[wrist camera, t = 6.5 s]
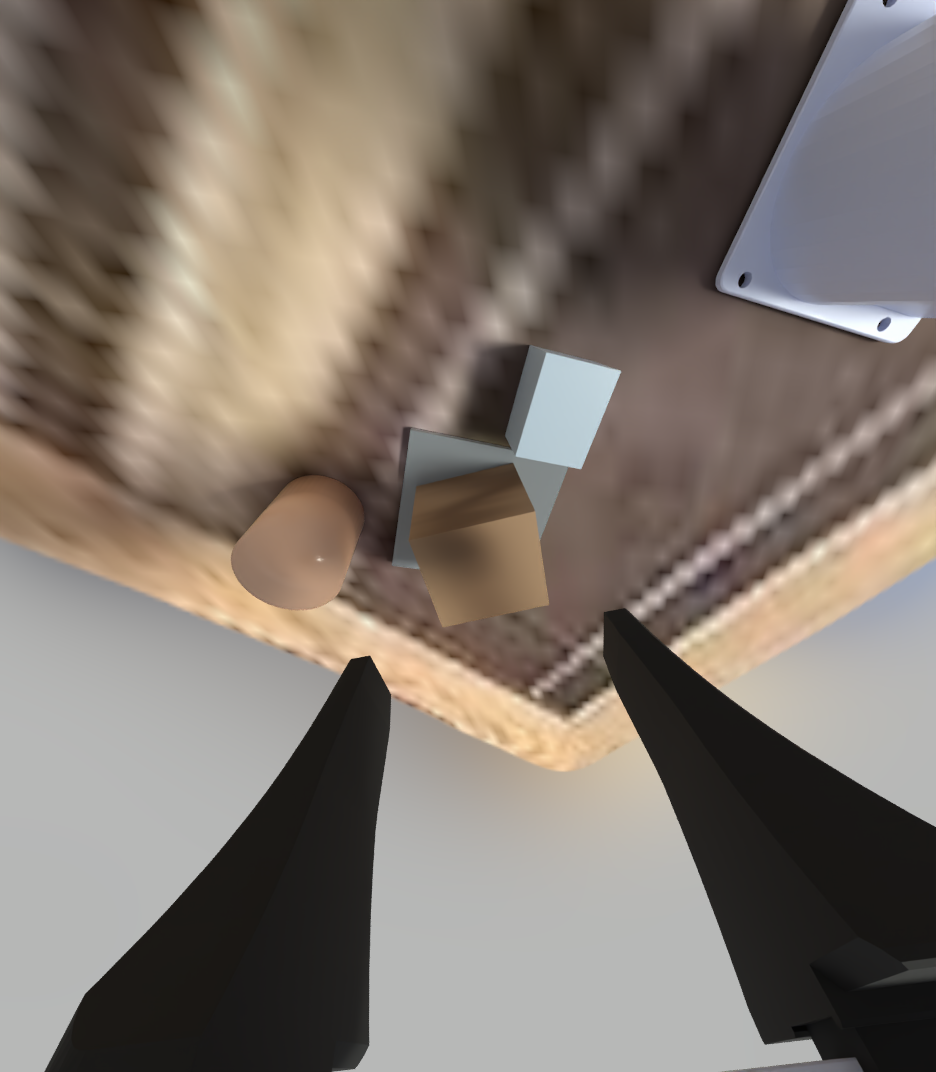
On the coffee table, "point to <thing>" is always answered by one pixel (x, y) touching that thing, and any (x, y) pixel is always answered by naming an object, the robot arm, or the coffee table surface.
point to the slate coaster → (461, 456)
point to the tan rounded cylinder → (300, 544)
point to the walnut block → (478, 545)
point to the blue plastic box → (558, 407)
